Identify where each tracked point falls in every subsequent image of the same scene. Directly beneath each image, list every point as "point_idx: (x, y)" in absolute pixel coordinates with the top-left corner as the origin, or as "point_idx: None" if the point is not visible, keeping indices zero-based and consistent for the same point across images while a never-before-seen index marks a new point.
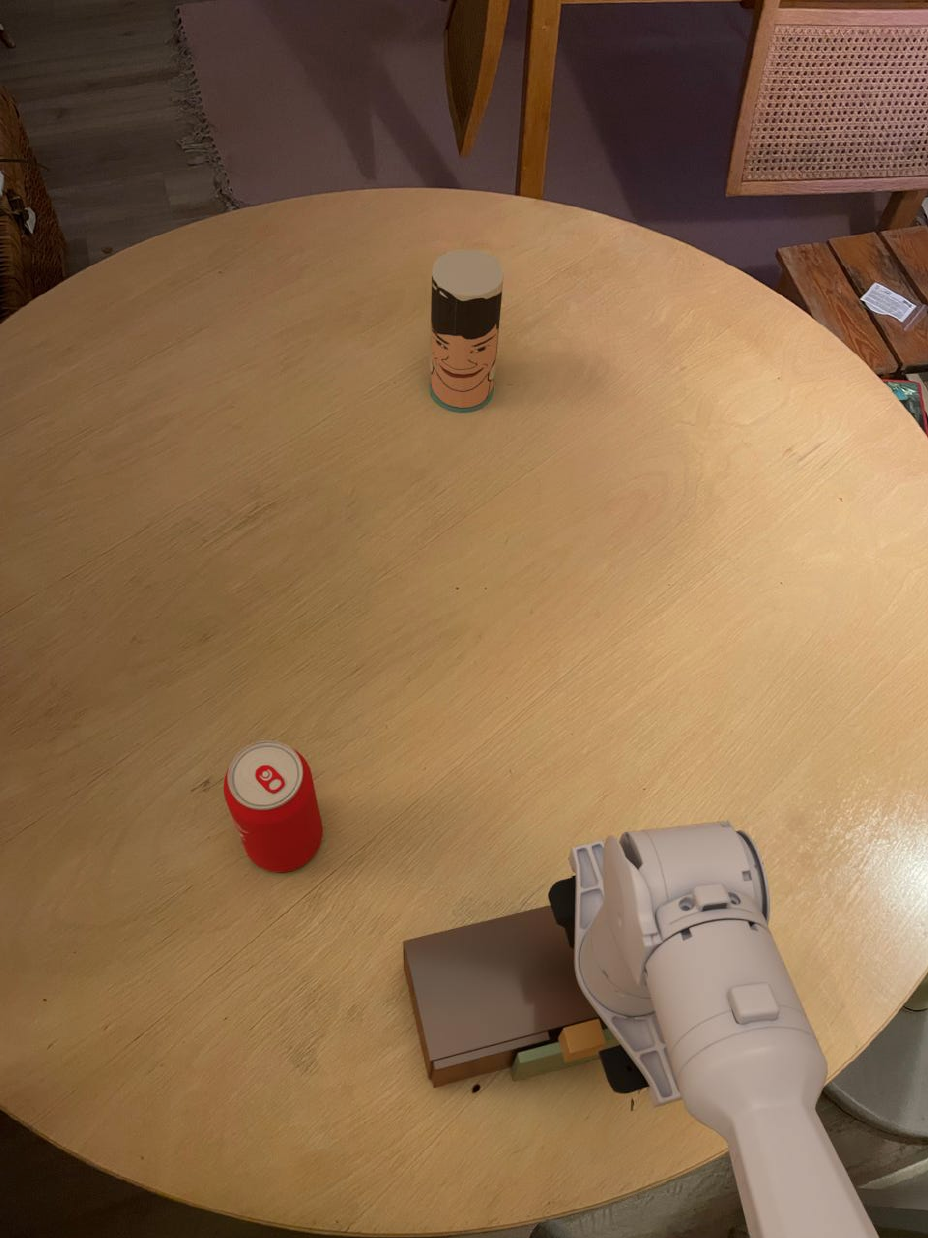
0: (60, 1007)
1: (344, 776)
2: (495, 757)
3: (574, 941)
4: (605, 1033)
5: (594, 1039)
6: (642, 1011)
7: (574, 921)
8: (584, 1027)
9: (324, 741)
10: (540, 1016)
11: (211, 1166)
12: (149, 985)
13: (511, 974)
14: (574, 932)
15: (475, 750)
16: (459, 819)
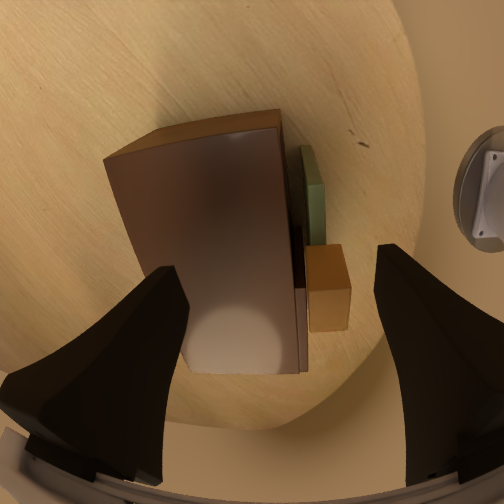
0: (230, 421)
1: (82, 316)
2: (38, 220)
3: (179, 337)
4: (316, 230)
5: (338, 301)
6: None
7: (148, 460)
8: (317, 311)
9: (67, 321)
10: (275, 293)
11: (316, 393)
12: (220, 403)
13: (222, 309)
14: (164, 382)
15: (38, 234)
16: (87, 254)
